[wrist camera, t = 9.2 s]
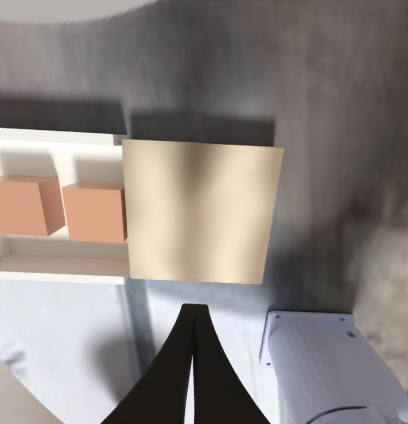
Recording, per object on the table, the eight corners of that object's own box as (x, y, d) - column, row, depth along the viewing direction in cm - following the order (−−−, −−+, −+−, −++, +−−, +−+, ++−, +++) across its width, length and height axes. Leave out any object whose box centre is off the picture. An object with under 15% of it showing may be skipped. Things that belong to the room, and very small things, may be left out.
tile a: (130, 184, 19) (120, 190, 17) (133, 230, 21) (123, 242, 18) (79, 181, 19) (61, 187, 17) (85, 228, 21) (69, 240, 18)
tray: (127, 135, 18) (112, 134, 15) (134, 265, 22) (124, 284, 19) (-29, 126, 18) (-73, 124, 15) (7, 260, 22) (-23, 278, 19)
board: (273, 146, 19) (283, 147, 16) (255, 268, 22) (261, 284, 20) (131, 139, 18) (121, 138, 16) (138, 263, 22) (130, 278, 20)
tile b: (58, 177, 19) (37, 182, 17) (66, 225, 20) (48, 236, 18) (6, 174, 19) (-22, 179, 17) (17, 223, 20) (-8, 234, 18)
